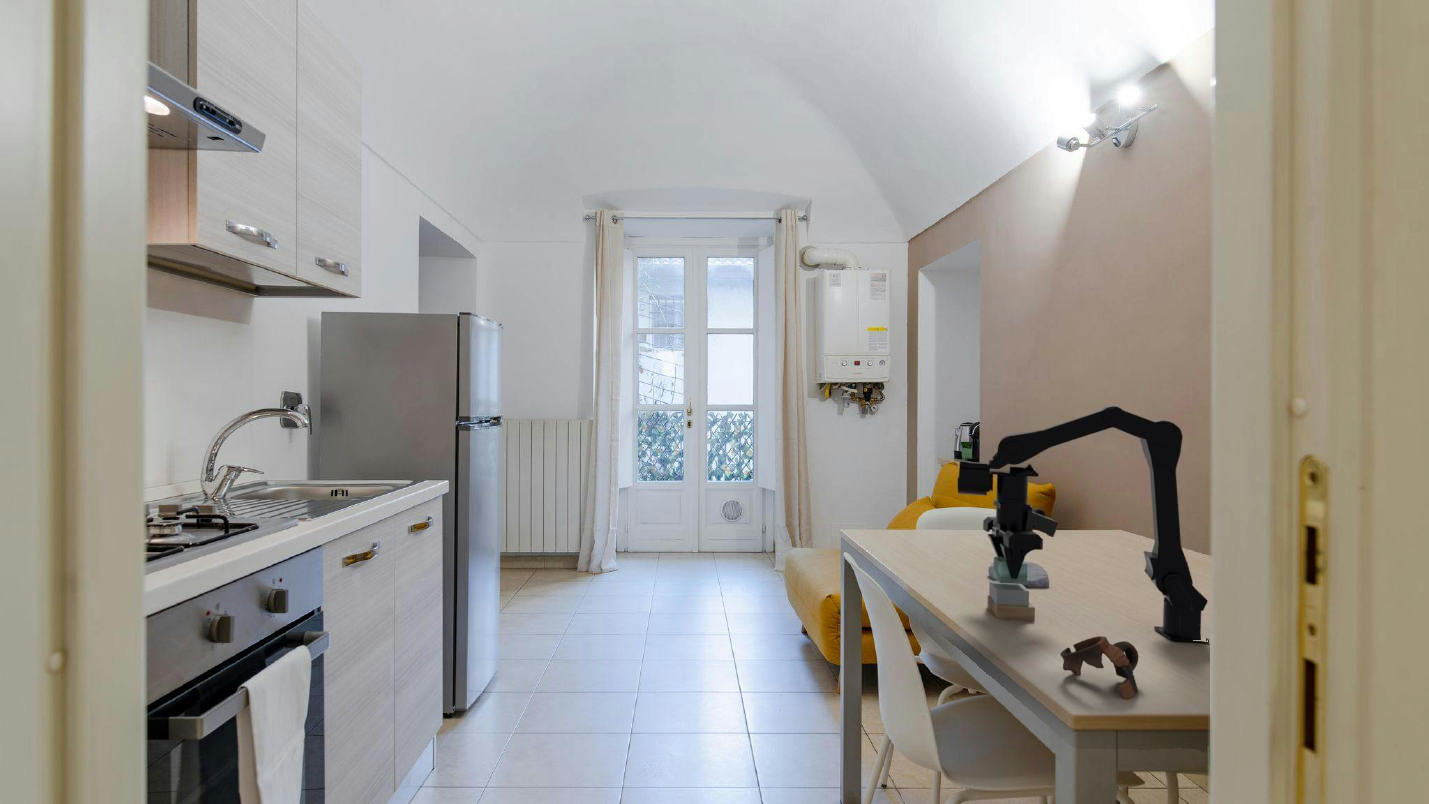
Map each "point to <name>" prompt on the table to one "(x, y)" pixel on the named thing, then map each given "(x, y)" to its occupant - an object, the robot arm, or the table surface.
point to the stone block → (1030, 575)
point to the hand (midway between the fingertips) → (1010, 575)
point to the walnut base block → (1011, 611)
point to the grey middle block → (1008, 594)
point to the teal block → (1003, 573)
